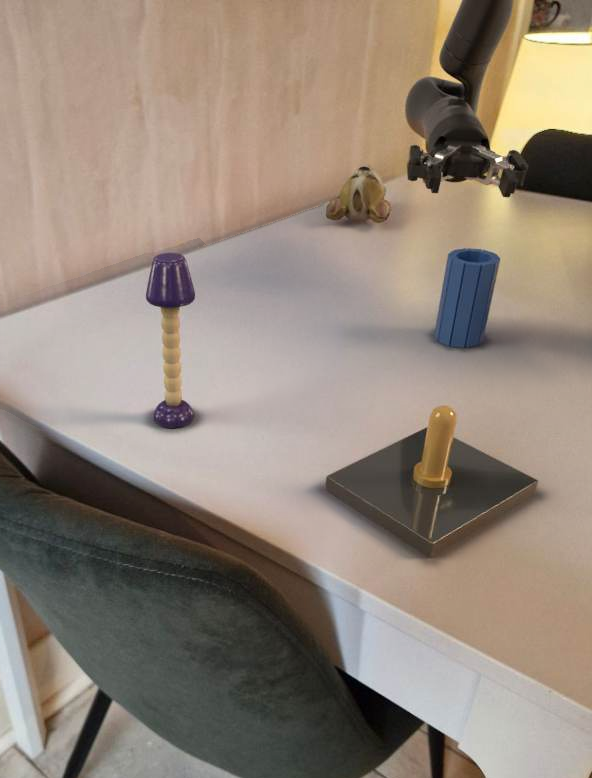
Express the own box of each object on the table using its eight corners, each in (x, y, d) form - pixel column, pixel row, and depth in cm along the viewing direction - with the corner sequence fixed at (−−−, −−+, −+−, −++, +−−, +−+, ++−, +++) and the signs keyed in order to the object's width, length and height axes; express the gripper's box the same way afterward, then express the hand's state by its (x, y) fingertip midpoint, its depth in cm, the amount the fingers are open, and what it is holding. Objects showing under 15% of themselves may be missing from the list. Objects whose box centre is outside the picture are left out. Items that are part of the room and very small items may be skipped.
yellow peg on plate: (428, 438, 75) (442, 358, 70) (534, 494, 67) (560, 408, 62) (324, 489, 68) (332, 405, 63) (429, 558, 61) (448, 468, 56)
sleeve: (454, 324, 96) (468, 244, 90) (492, 339, 93) (510, 257, 87) (424, 336, 94) (437, 255, 88) (462, 352, 90) (479, 268, 84)
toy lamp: (157, 404, 81) (147, 247, 71) (200, 406, 81) (196, 248, 71) (150, 428, 78) (138, 265, 67) (196, 429, 77) (190, 266, 67)
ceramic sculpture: (400, 155, 131) (391, 183, 120) (394, 206, 137) (386, 237, 126) (338, 153, 134) (324, 180, 123) (335, 203, 139) (322, 233, 129)
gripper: (407, 110, 101) (419, 151, 89) (517, 115, 100) (543, 157, 88) (397, 168, 106) (407, 215, 94) (501, 174, 105) (524, 221, 93)
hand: (473, 187), depth 91 cm, fingers open, 8 cm apart
